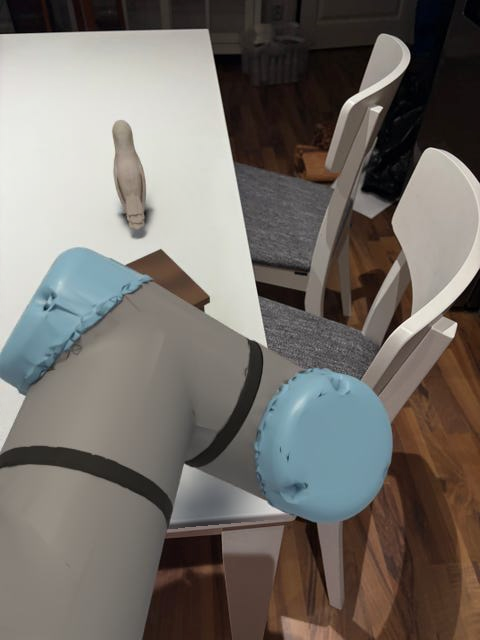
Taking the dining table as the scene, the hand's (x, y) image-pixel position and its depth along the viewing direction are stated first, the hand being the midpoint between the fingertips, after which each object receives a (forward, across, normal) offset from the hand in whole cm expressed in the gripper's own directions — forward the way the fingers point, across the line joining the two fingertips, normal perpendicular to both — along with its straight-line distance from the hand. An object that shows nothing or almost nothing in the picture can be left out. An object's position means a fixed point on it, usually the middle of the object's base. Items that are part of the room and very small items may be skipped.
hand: (140, 396), depth 60 cm
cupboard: (+7, +2, +1) cm, 7 cm away
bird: (+28, +19, +22) cm, 41 cm away
